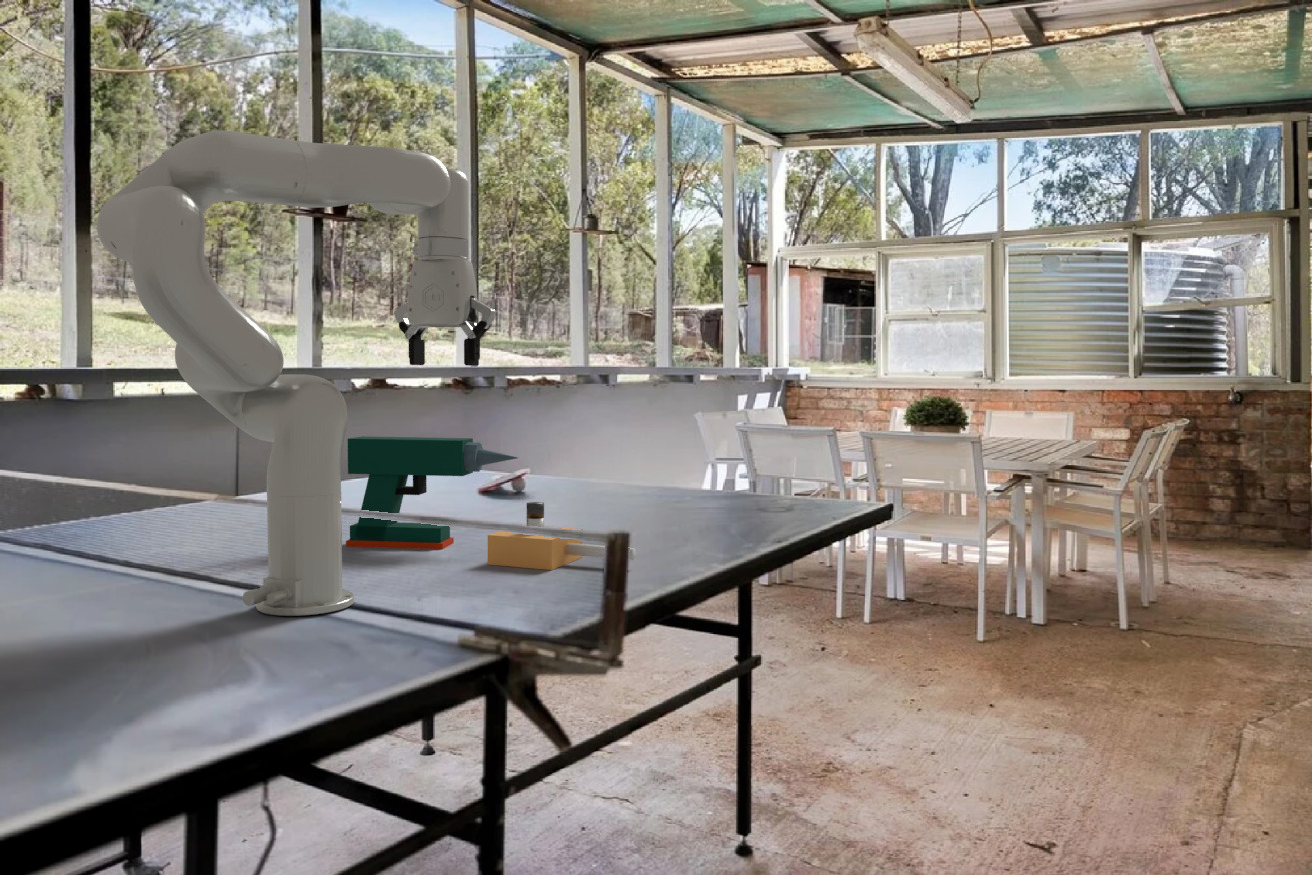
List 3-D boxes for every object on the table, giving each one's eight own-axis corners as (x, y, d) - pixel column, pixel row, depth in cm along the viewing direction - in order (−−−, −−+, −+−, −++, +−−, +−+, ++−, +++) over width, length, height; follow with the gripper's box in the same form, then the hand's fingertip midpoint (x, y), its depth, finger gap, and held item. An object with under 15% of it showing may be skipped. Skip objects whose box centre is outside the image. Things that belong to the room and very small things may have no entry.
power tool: (524, 544, 181) (524, 438, 180) (515, 551, 174) (515, 441, 173) (361, 540, 184) (360, 436, 183) (345, 546, 177) (344, 438, 176)
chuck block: (619, 576, 153) (619, 545, 153) (487, 564, 162) (487, 534, 161) (646, 562, 164) (646, 533, 164) (521, 552, 173) (521, 524, 172)
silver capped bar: (539, 562, 163) (539, 504, 163) (523, 561, 164) (523, 503, 164) (547, 559, 166) (547, 502, 165) (531, 558, 167) (531, 501, 166)
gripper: (380, 251, 146) (381, 364, 147) (480, 247, 140) (480, 365, 141) (409, 257, 153) (410, 365, 154) (505, 253, 147) (505, 366, 148)
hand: (444, 365), depth 147 cm, fingers open, 9 cm apart
